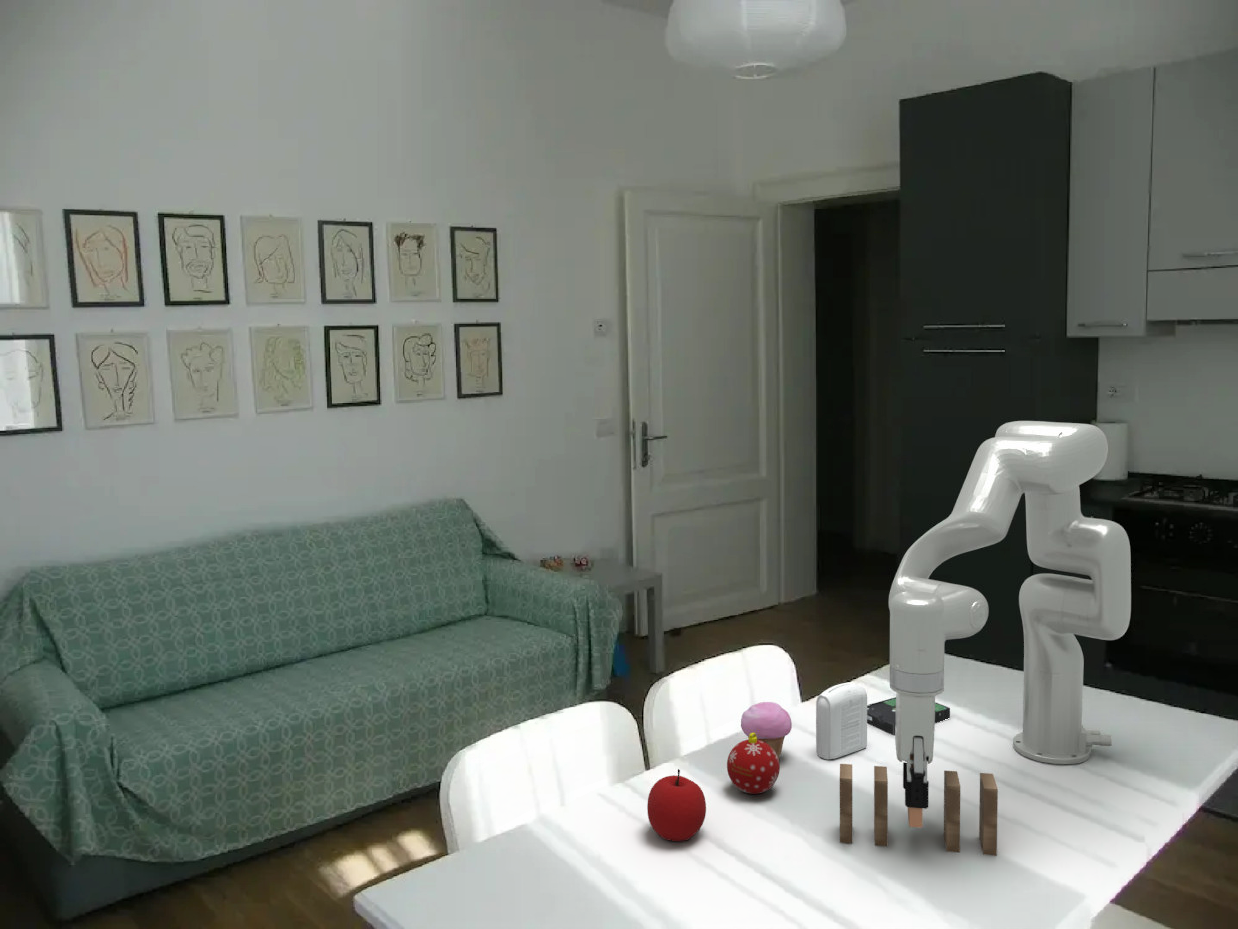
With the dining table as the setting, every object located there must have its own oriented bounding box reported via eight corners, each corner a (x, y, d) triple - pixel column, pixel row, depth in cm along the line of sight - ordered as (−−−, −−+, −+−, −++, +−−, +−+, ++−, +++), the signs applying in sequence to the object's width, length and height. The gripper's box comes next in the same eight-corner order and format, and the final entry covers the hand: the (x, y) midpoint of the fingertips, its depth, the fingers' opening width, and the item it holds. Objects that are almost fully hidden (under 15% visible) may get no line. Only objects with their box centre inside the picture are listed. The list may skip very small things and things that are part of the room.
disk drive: (894, 739, 183) (951, 720, 191) (894, 725, 183) (951, 706, 190) (855, 721, 192) (910, 704, 199) (855, 707, 192) (910, 691, 199)
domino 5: (991, 838, 146) (993, 773, 145) (996, 855, 141) (997, 789, 140) (979, 837, 146) (979, 773, 145) (983, 854, 141) (984, 788, 140)
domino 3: (920, 811, 148) (920, 747, 146) (922, 827, 143) (923, 761, 142) (907, 810, 148) (908, 746, 147) (909, 826, 143) (910, 760, 142)
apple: (637, 827, 153) (635, 765, 151) (689, 814, 156) (688, 754, 155) (663, 855, 144) (661, 790, 143) (718, 841, 148) (716, 777, 146)
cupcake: (790, 748, 179) (789, 695, 178) (793, 769, 171) (793, 713, 170) (740, 748, 180) (739, 695, 179) (741, 768, 172) (740, 713, 170)
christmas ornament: (716, 789, 164) (715, 732, 163) (754, 774, 169) (753, 718, 168) (752, 808, 157) (751, 748, 156) (790, 792, 162) (790, 734, 161)
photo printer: (853, 740, 182) (852, 675, 180) (870, 748, 178) (870, 682, 177) (812, 755, 176) (811, 688, 175) (829, 763, 173) (829, 695, 171)
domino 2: (886, 829, 149) (886, 766, 148) (887, 846, 144) (887, 781, 143) (874, 828, 150) (874, 766, 148) (874, 845, 145) (874, 780, 144)
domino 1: (852, 827, 150) (852, 764, 149) (852, 843, 146) (852, 779, 144) (840, 826, 151) (840, 763, 150) (839, 842, 146) (839, 778, 145)
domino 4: (956, 835, 147) (957, 771, 146) (959, 852, 142) (960, 786, 141) (943, 834, 147) (944, 770, 146) (946, 851, 143) (947, 785, 141)
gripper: (887, 658, 152) (887, 771, 154) (891, 697, 135) (890, 823, 138) (939, 660, 150) (937, 775, 152) (949, 700, 134) (947, 828, 136)
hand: (915, 796), depth 145 cm, fingers closed on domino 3, 4 cm apart
